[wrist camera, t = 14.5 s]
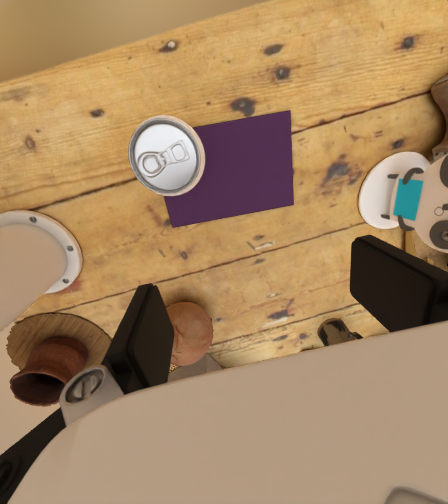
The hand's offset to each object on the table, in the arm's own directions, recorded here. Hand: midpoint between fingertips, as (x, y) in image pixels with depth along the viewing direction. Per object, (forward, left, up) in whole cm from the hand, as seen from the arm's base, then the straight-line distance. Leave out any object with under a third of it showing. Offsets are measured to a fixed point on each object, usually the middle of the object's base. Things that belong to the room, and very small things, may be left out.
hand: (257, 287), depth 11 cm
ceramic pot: (-32, -22, -24) cm, 45 cm away
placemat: (+2, +3, -23) cm, 24 cm away
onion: (-9, -19, -24) cm, 32 cm away
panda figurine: (+27, -4, -23) cm, 36 cm away
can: (-4, +6, -23) cm, 24 cm away
